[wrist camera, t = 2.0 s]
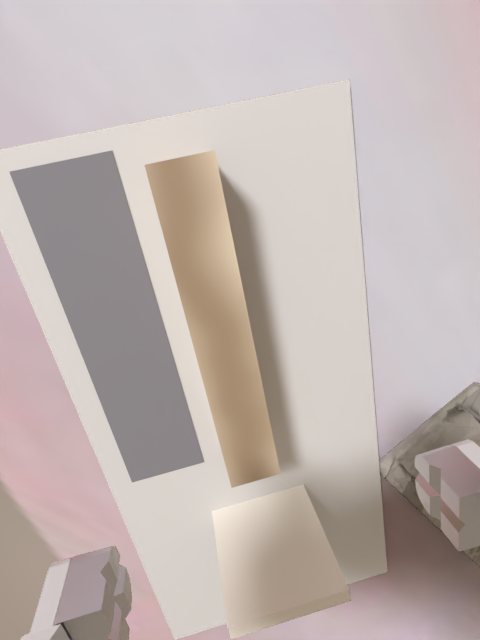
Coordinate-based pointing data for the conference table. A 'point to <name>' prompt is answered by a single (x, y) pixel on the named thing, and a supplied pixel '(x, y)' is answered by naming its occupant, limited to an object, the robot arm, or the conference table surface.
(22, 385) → the conference table surface
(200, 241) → the long tan strip
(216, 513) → the tile
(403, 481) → the packaged product
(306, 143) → the mat
